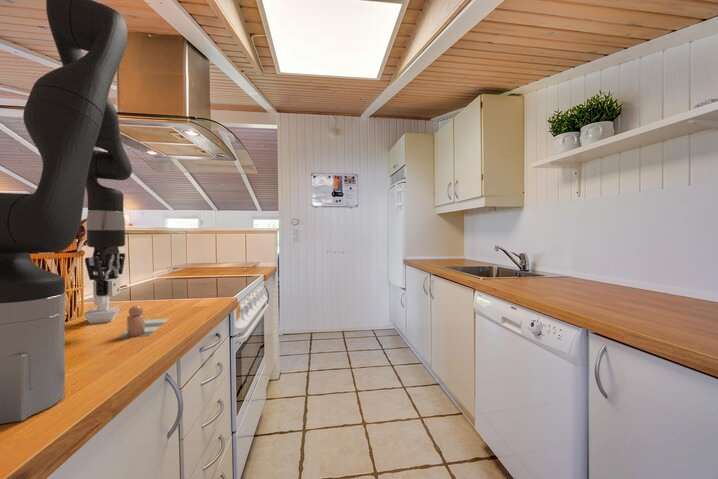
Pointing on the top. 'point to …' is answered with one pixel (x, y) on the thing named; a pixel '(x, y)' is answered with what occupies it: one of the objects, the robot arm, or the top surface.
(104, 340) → the top surface
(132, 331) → the pawn
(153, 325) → the board
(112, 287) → the die
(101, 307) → the figurine
